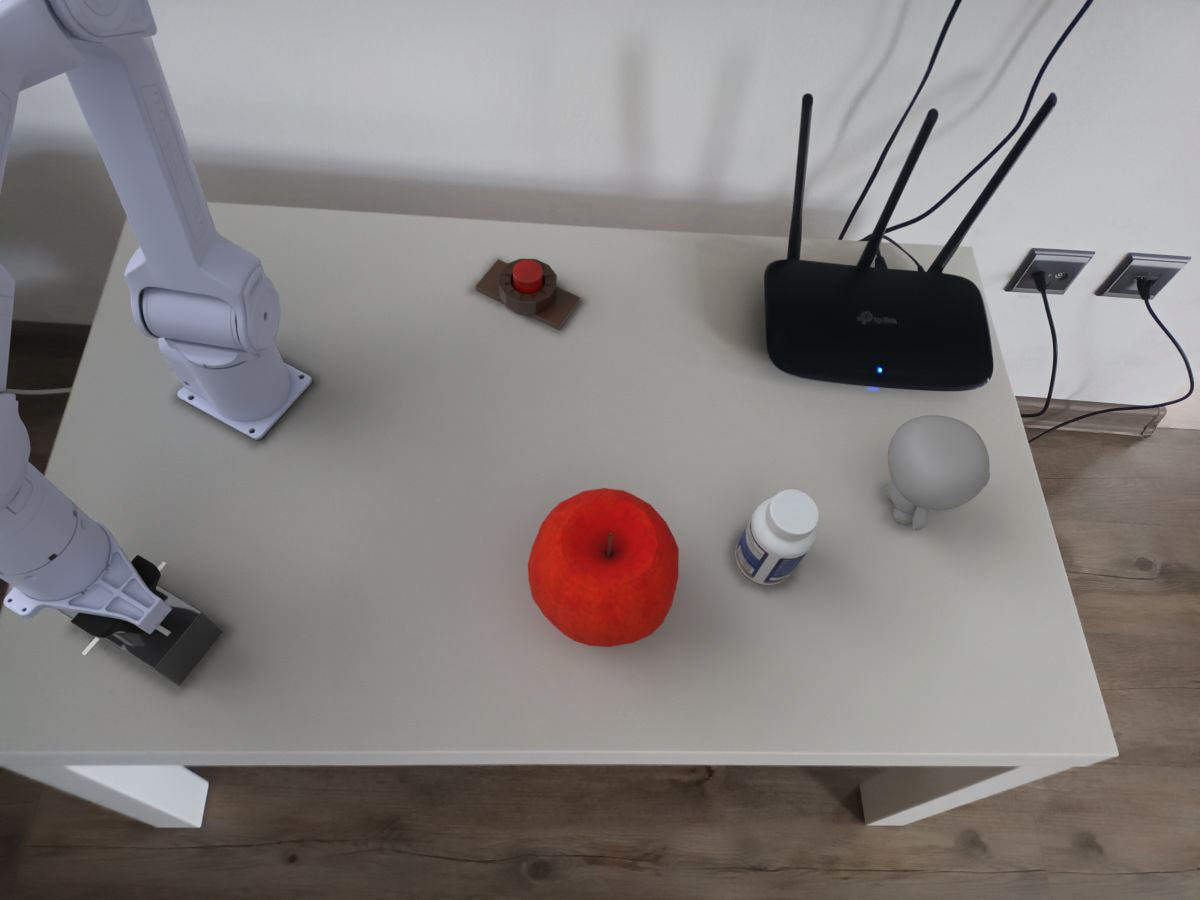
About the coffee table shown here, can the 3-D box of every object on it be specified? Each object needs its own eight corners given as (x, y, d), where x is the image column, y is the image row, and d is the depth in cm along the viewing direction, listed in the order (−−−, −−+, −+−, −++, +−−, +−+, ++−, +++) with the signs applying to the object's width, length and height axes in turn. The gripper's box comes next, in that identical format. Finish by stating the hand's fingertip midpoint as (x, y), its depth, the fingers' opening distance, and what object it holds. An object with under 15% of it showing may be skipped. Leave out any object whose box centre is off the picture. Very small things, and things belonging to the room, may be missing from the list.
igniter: (471, 295, 85) (470, 278, 83) (501, 259, 87) (501, 242, 85) (555, 335, 83) (556, 319, 81) (583, 297, 86) (584, 281, 84)
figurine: (947, 544, 75) (1016, 483, 64) (869, 550, 74) (926, 490, 63) (920, 467, 78) (980, 398, 68) (845, 472, 78) (895, 404, 67)
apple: (681, 655, 67) (713, 601, 56) (542, 685, 65) (546, 635, 54) (645, 527, 73) (668, 454, 61) (516, 551, 71) (514, 480, 59)
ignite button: (507, 286, 83) (507, 274, 81) (522, 267, 84) (522, 255, 83) (532, 298, 82) (533, 286, 81) (547, 279, 84) (548, 267, 82)
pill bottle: (799, 541, 73) (834, 493, 65) (786, 595, 71) (821, 552, 62) (741, 522, 74) (769, 471, 66) (727, 574, 71) (753, 528, 63)
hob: (65, 641, 64) (30, 621, 60) (141, 557, 68) (114, 532, 64) (164, 705, 62) (136, 688, 58) (237, 615, 66) (216, 593, 62)
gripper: (-122, 527, 48) (6, 604, 60) (66, 646, 46) (160, 702, 57) (-23, 439, 51) (80, 528, 63) (157, 545, 49) (229, 617, 61)
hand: (123, 605), depth 60 cm, fingers open, 4 cm apart
